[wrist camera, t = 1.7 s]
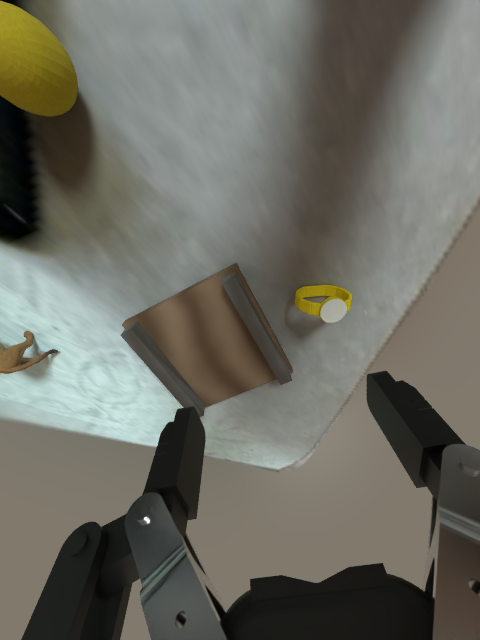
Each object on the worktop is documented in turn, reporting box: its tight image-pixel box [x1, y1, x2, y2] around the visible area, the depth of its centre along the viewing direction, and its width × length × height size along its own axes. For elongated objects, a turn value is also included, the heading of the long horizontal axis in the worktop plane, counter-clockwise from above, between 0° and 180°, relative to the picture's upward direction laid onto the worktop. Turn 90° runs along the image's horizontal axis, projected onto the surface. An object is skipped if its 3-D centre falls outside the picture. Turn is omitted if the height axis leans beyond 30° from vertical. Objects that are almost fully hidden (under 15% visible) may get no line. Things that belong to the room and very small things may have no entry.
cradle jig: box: [121, 263, 293, 417], centre depth 33 cm, size 16×17×3 cm
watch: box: [295, 285, 352, 323], centre depth 28 cm, size 6×3×6 cm, turn 93°
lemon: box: [0, 1, 78, 117], centre depth 18 cm, size 6×6×8 cm
